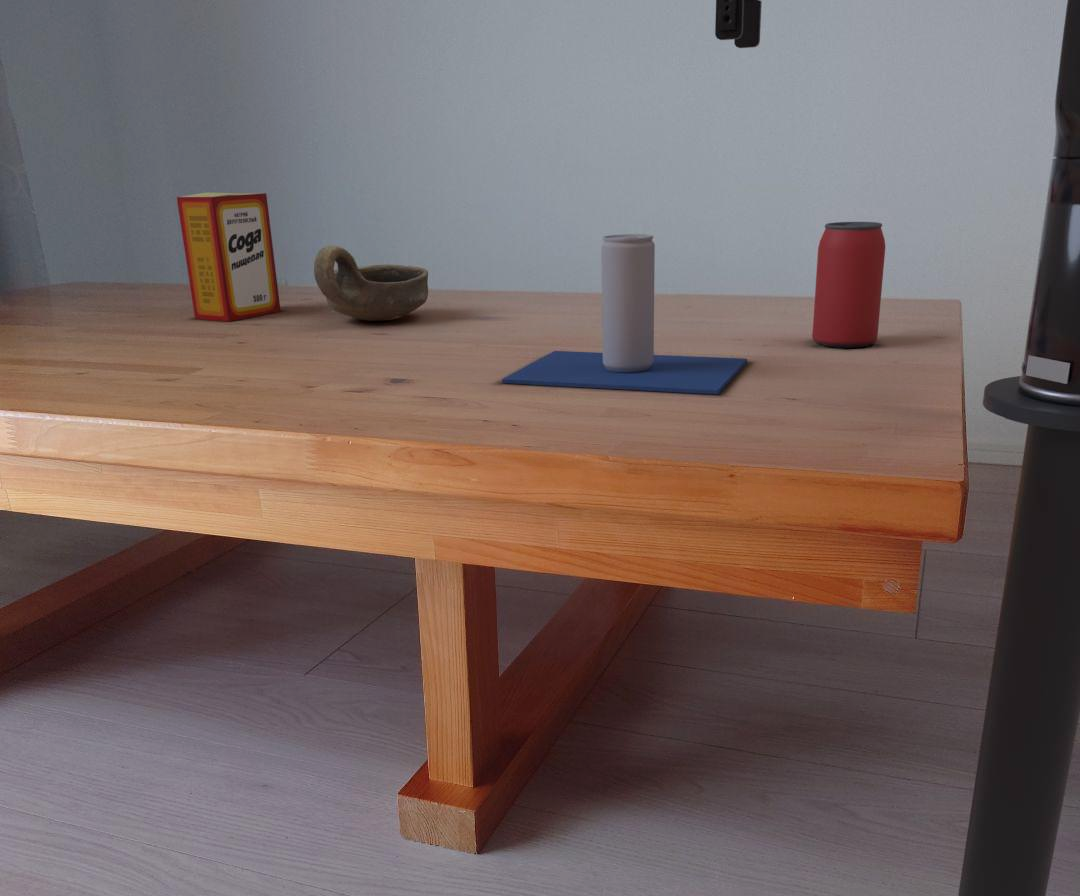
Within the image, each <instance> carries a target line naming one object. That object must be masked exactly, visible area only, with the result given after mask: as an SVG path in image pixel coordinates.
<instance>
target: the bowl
mask: <svg viewBox="0 0 1080 896" xmlns="http://www.w3.org/2000/svg"><path fill="white" fill-rule="evenodd" d="M315 256H316V257H315V259H314V263H313V274H314V279H315V282H316V285H317V287H318V289H319V290H320V292H321V294H322V295H323V296H324V297H325V298H326V302H327V303H328V306H329V307H330V308H331V309H332V310H334V311H335V312H336V313H339V314H342V315H344V316H347V317H351V318H354V319H357V320H360V321H367V322H385V321H393V320H396V319H399V318H402V317H404V316H406V315H409V314H410V313H412V312H414V311H416V310H417V309H418V308H420V307H422V306H423V305H424V304H425V303H427V300H428V297H429V284H428V282H429V281H428V280H429V271H428V270H427V269H426V268H423V267H419V266H414V265H403V264H373V265H368V266H358V264H357V262H356V260H355V258H354V256H353V255H352V254H351V253H350V252H349V251H348V250H347V249H345V248H343V247H340V246H337V245H324V247H322V248H320V249H319V250H318V252H317V253H316V255H315ZM335 265H337V269H334V268H335Z"/></svg>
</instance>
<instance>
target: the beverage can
mask: <svg viewBox="0 0 1080 896" xmlns="http://www.w3.org/2000/svg"><path fill="white" fill-rule="evenodd" d="M653 239H654V235H653V234H652V235H651V234H645V233H629V234H627V233H626V234H624V233H623V234H611V235H604V236H603V237H602V240H603V243H601V250H600V251H601V252H600V253H601V256H600V257H601V259H600V260H601V308H602V309H601V311H602V314H601V315H602V316H601V317H602V319H601V320H602V353H603V364H604V366H605V367H606V369H607V370H609V371H612V372H620V373H632V372H641V371H645V370H648V369H649V368H650V367H651V366H652V364H653V362H654V355H655V354H654V353H655V351H654V350H655V349H654V347H655V342H654V341H655V338H654V337H655V251H656V245H655V242H654V241H653Z"/></svg>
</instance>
